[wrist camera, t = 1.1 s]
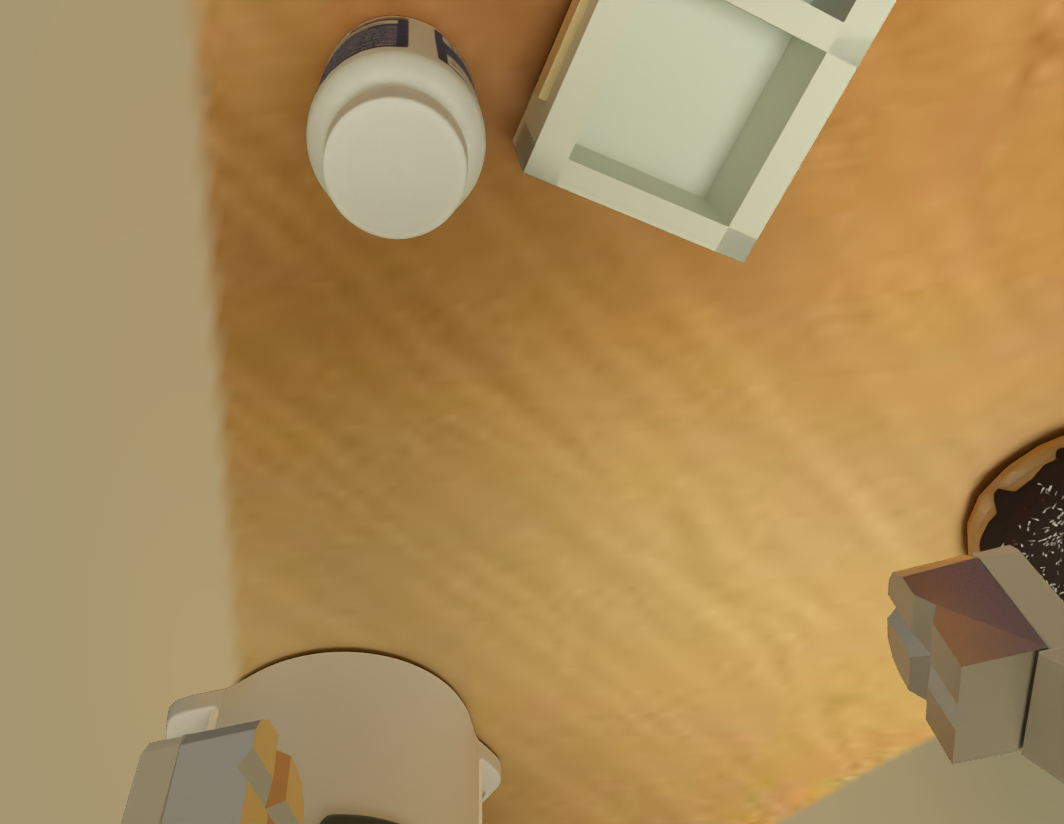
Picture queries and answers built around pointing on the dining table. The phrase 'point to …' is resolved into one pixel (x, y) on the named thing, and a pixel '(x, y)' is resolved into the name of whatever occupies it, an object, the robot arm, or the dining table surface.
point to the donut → (1026, 512)
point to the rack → (691, 106)
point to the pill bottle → (396, 128)
